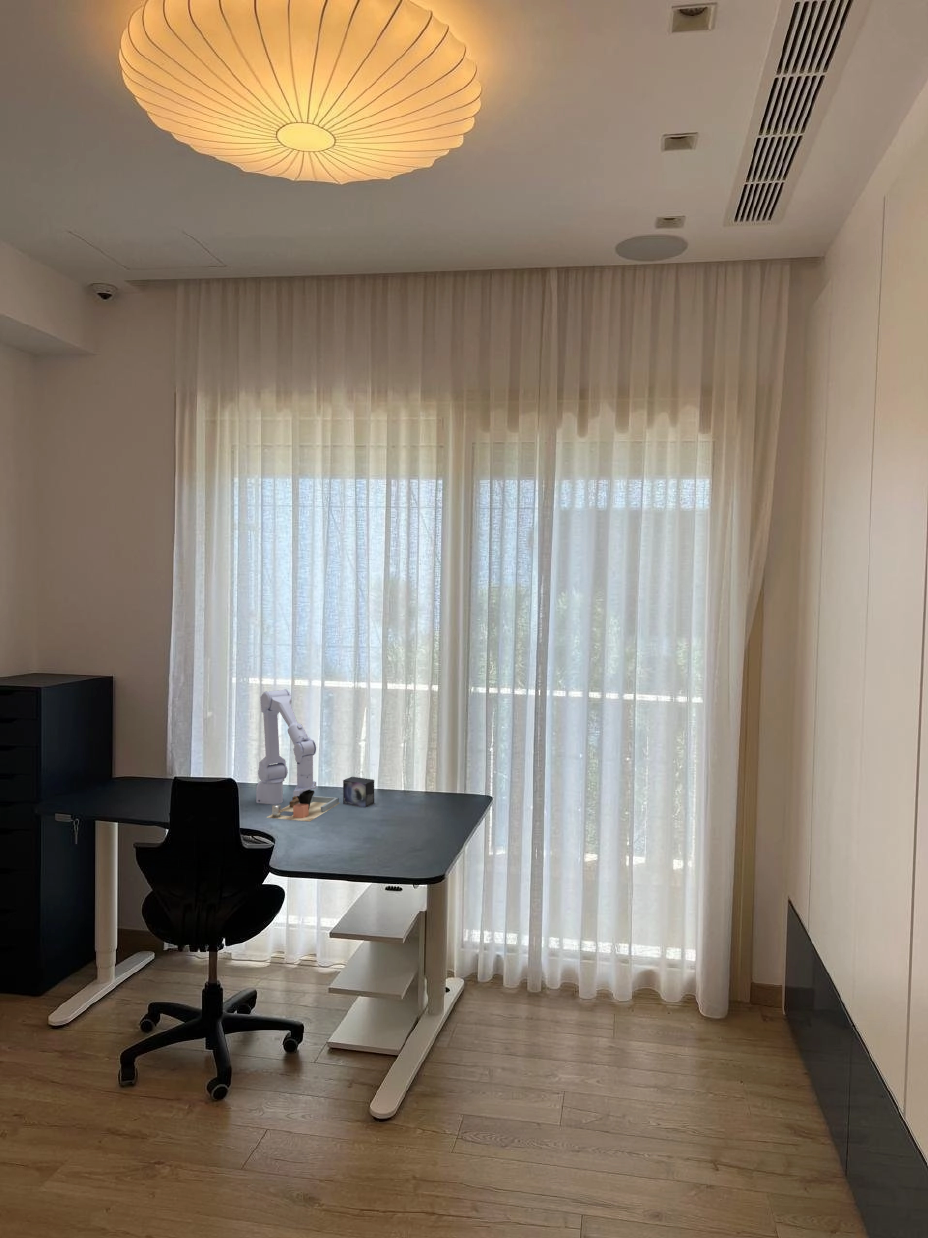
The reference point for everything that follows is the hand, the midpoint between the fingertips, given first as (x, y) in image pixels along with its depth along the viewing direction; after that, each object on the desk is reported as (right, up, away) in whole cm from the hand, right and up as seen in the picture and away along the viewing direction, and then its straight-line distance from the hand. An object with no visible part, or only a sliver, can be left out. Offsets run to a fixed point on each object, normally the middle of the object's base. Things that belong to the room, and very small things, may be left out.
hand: (305, 811), depth 325 cm
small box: (+18, -2, +14) cm, 23 cm away
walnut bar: (-5, 0, +12) cm, 13 cm away
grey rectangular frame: (+3, 0, +10) cm, 10 cm away
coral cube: (-1, -1, -3) cm, 4 cm away
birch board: (-1, -2, +5) cm, 5 cm away
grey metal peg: (-10, -1, -4) cm, 10 cm away
